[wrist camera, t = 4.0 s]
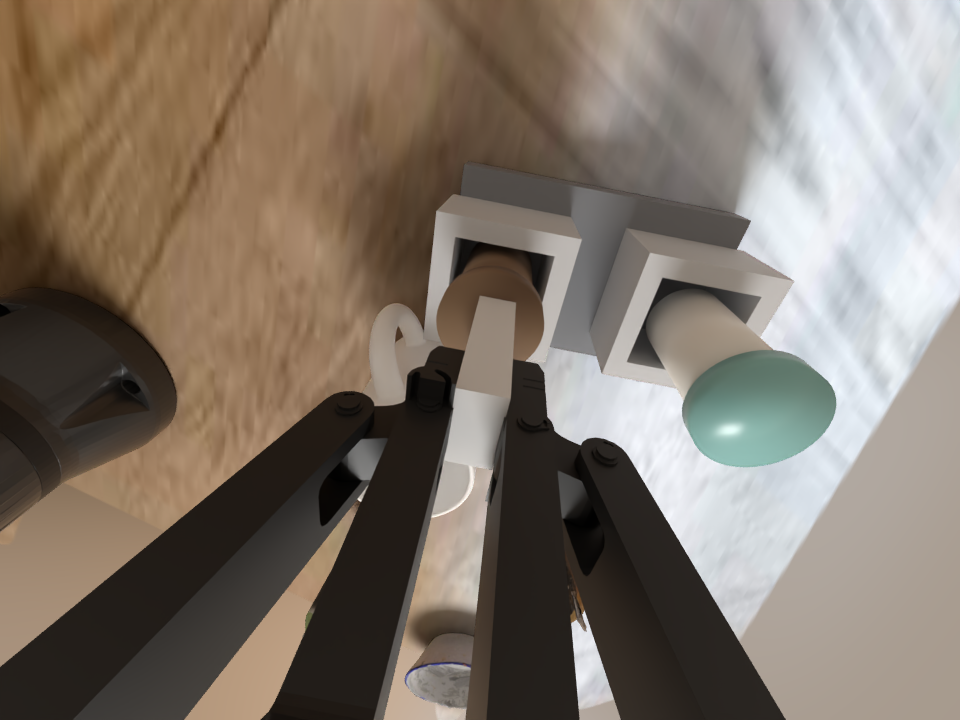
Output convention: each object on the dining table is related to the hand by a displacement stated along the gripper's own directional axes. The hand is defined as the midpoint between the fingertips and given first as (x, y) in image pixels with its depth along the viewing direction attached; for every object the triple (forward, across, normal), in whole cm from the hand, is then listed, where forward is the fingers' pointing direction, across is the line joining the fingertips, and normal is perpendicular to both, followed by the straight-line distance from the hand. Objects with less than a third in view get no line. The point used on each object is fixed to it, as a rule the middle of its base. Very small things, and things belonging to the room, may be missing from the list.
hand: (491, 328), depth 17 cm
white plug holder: (+11, +5, 0) cm, 12 cm away
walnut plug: (+8, 0, 0) cm, 8 cm away
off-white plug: (+5, +10, 0) cm, 11 cm away
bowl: (+11, +5, -54) cm, 55 cm away
